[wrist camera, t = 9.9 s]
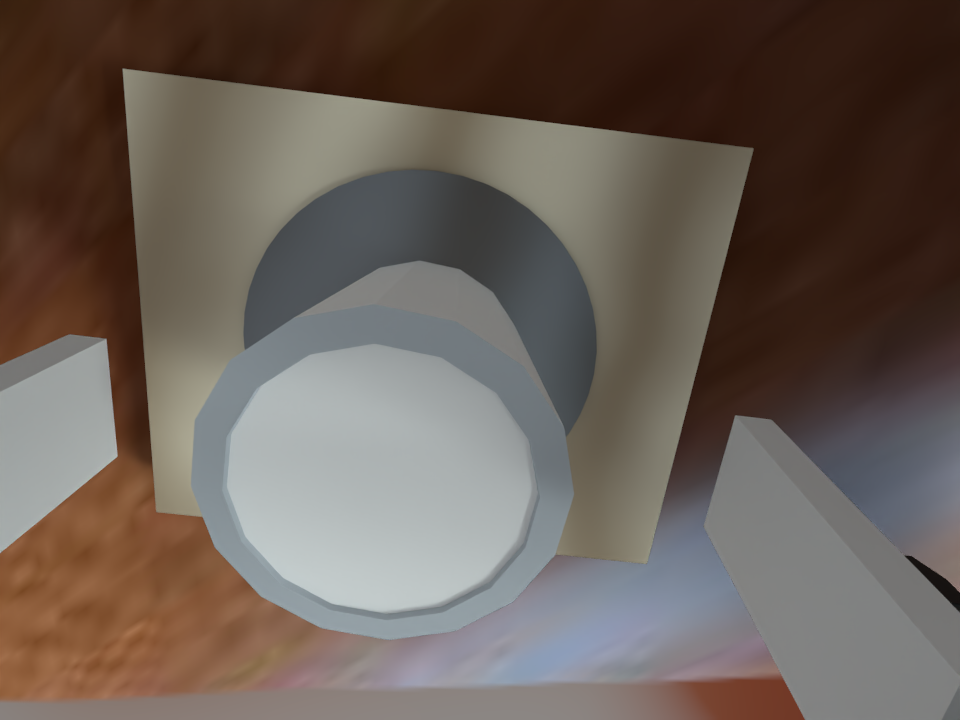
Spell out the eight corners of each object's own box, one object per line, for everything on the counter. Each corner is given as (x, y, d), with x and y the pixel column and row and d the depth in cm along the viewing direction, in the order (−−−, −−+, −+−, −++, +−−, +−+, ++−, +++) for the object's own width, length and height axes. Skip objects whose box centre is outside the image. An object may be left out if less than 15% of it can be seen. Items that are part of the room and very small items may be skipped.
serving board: (725, 147, 17) (758, 148, 15) (633, 527, 22) (649, 570, 20) (162, 76, 17) (115, 67, 15) (185, 479, 21) (151, 517, 19)
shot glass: (310, 462, 19) (213, 641, 12) (289, 235, 16) (154, 301, 10) (535, 467, 19) (562, 649, 12) (548, 239, 16) (590, 311, 10)
